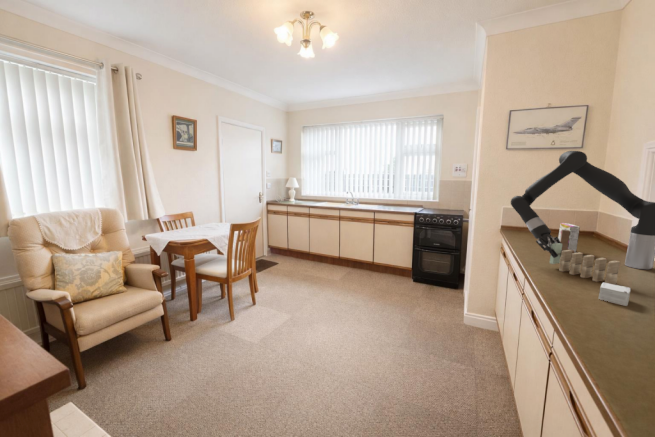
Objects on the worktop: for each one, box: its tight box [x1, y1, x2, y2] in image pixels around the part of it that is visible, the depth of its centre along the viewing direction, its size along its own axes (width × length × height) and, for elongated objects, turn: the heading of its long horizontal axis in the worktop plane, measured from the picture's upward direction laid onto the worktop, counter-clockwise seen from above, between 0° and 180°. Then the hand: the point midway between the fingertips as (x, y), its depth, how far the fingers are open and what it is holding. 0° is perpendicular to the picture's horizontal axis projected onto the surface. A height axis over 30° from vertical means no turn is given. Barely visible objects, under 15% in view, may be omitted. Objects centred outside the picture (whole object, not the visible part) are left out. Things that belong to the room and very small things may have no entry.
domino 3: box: [568, 252, 584, 276], centre depth 135 cm, size 2×5×10 cm, turn 110°
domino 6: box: [604, 260, 621, 285], centre depth 123 cm, size 2×5×10 cm, turn 110°
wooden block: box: [560, 230, 574, 259], centre depth 163 cm, size 7×3×15 cm, turn 57°
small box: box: [598, 281, 631, 307], centre depth 108 cm, size 8×8×5 cm
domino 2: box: [558, 250, 572, 273], centre depth 140 cm, size 2×5×10 cm, turn 111°
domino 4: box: [580, 254, 595, 279], centre depth 131 cm, size 2×5×10 cm, turn 110°
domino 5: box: [591, 257, 608, 283], centre depth 127 cm, size 2×5×10 cm, turn 110°
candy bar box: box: [557, 222, 581, 253], centre depth 174 cm, size 11×5×16 cm, turn 168°
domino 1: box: [549, 243, 562, 265], centre depth 143 cm, size 2×5×10 cm, turn 110°
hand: (559, 256), depth 142 cm, fingers closed on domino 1, 5 cm apart
